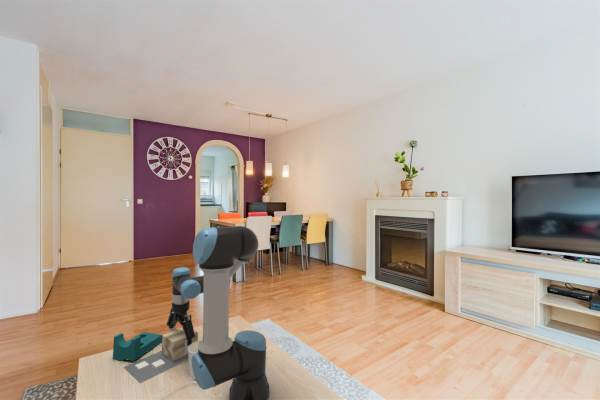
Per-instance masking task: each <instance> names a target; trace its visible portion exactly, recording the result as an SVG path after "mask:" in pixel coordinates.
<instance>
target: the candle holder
mask: <svg viewBox="0 0 600 400" xmlns="http://www.w3.org/2000/svg"><path fill="white" fill-rule="evenodd" d="M201 341H202V340H198V341H197V342H194V343H192V344H191V345H189V347H188V360H187V361H188V375H189V376H190V377H191V378H194V379H193V380H192V381H194V382H196V379H195V376H194V373H193V369H192V356H193V355H194V354H195V353H198V345H199V343H200V342H201Z"/></svg>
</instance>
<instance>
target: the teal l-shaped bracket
mask: <svg viewBox="0 0 600 400" xmlns="http://www.w3.org/2000/svg"><path fill="white" fill-rule="evenodd" d="M162 335H163V334H160V333H152V332H147V331H146V332H145V331H143V332H141V333H139V334H137V335H136V336H134V337H133V338H130V339H129V340H126V339H125V337H124V333H118V334H116V335H114V336H113V348H112V360H113V361H118V362H119V361H120V362H124V361H131V362H132V361H134V362H135V360H136V361H137V359H139V358H140V357H142V356H143V355H145V354H147V353H148V352H150V351H151V350H152V349H154V348H156V347H157V346H158V345H160V344H162Z"/></svg>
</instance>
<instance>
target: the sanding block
mask: <svg viewBox="0 0 600 400" xmlns="http://www.w3.org/2000/svg"><path fill="white" fill-rule="evenodd" d="M194 333H195V337H194V338H192V343H194V342H197V341H199V332H198V330H195V329H194ZM161 335H162V343H161V351H162V355H164V356H165V357H166V358H168V359H169V360H170V361H172V362H173V363H174V362H176V361H178V360H180V359H182V358H184V357H186V356H188V353H185V338H186V335H185V333H184V330H183V327H179V328H176V330H174V331H171V332H166V333H164V334H161Z"/></svg>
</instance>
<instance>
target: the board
mask: <svg viewBox="0 0 600 400" xmlns="http://www.w3.org/2000/svg"><path fill="white" fill-rule="evenodd" d="M160 359H161V360H163V361H164V362H165V365H164V366H162V367H160V368H158V369H155V368H154V367H153V366H152V363H153V362H156V361H158V360H160ZM143 361H146V362H147V363H148V364H149V367H148V368H145V369H143V370H141V371H138V370H137V369H136V368H135V365H137V364H139V363H141V362H143ZM186 361H188V356H186V357H184V358H182V359H180V360H178V361H176V362H174V363H173V362H172V361H170V360H169V359H168V358H166V357H165V356H164V355H162V350H160V351H157V352H154V353H153V354H151V355H150V354H149V355H148V356H146V357H143V358H141V359H139V360H136V361H134V362H132V363H130V364H128V365H125V366H123V369H124V370H126V372H128V373H129V375H131V376H132V377H133V378H134V379H135V380H136V381H137V382H138V383H139V384H142V383H144V382H146V381H149V380H150V379H152V378H154V377H157V376H158V375H160V374H162V373H164V372H166V371H168V370H170V369H173V368H174V367H176V366H179V365H182V364H183V363H185V362H186Z"/></svg>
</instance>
